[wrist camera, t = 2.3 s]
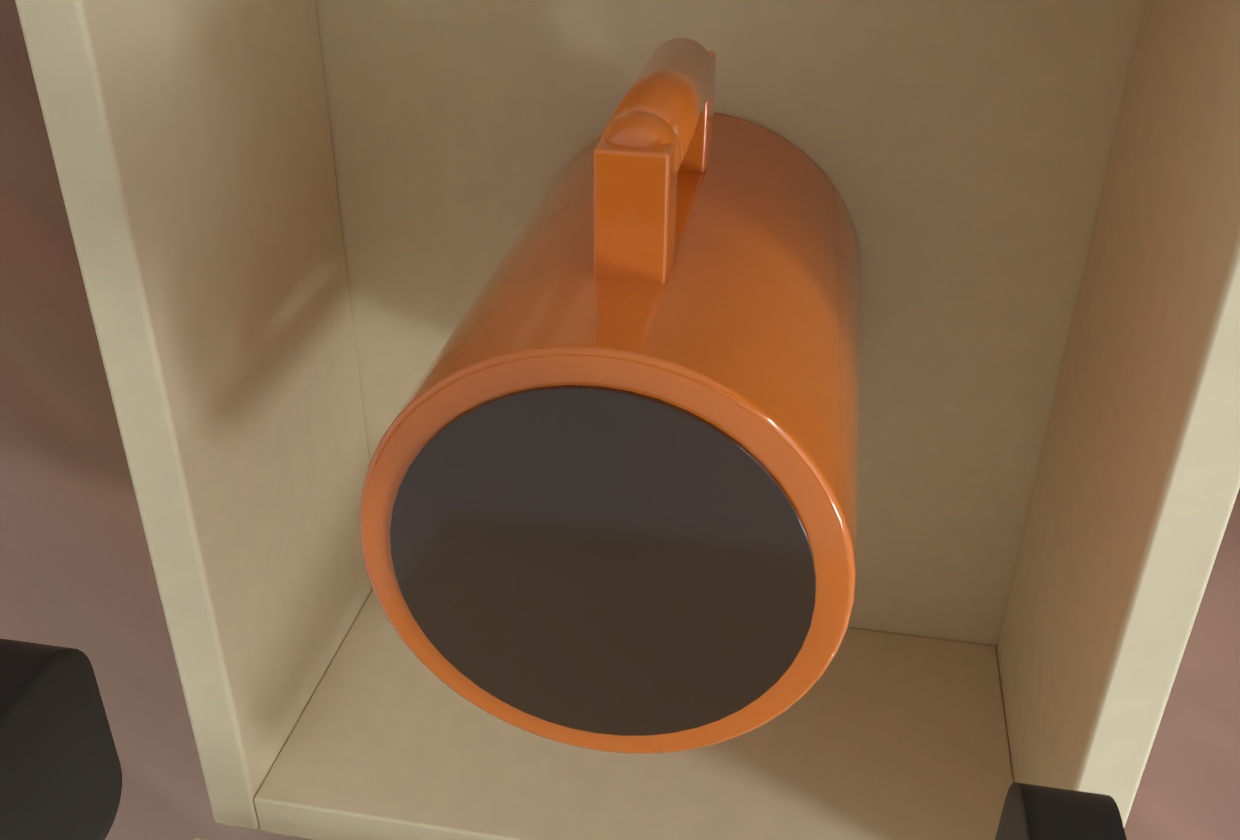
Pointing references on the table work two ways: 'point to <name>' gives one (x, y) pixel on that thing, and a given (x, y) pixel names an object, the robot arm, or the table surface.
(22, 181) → the table surface
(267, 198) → the cream hinged box
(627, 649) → the cup
